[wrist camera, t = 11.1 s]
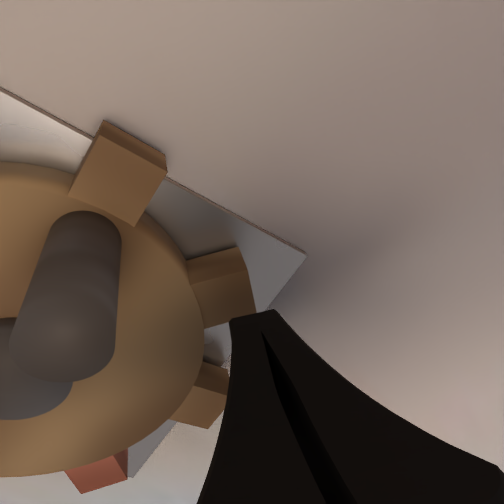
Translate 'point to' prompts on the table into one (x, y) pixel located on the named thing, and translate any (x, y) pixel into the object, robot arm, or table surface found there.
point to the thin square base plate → (167, 216)
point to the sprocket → (102, 315)
